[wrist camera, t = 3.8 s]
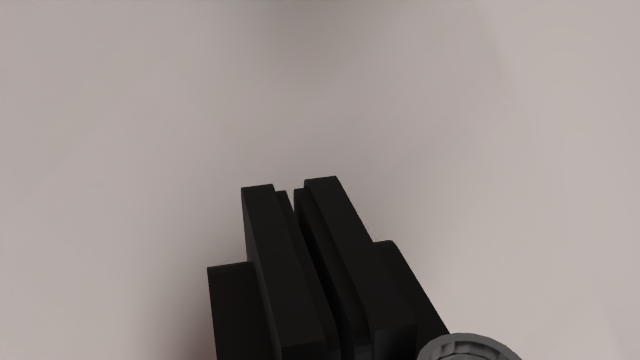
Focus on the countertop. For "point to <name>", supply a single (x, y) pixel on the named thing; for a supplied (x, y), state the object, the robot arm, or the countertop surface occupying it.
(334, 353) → the robot arm
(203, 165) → the countertop surface
